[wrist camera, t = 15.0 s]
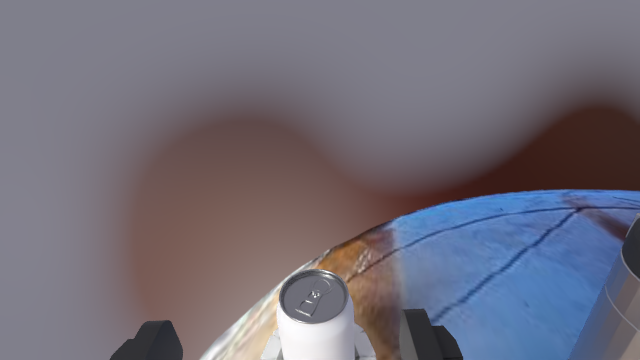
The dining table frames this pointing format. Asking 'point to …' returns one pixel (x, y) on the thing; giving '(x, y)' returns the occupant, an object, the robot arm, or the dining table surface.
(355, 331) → the holder
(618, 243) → the dining table surface
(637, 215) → the lighter
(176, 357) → the robot arm
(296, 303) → the can
